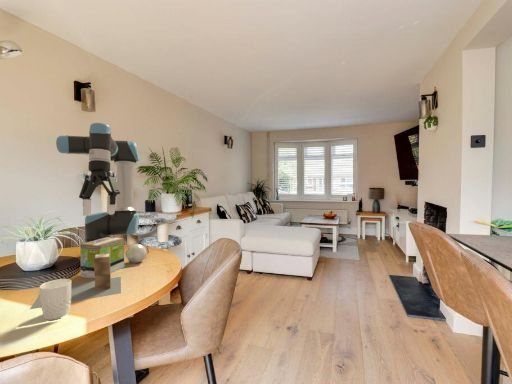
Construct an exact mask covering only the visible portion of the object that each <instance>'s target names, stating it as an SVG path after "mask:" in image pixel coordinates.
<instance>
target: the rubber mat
mask: <svg viewBox="0 0 512 384" xmlns="http://www.w3.org/2000/svg"><path fill="white" fill-rule="evenodd" d="M118 294H122V276H116V277H111V288H110V289H104V290H98V291H95V280H90V281H85V282H78V283H71V303H73V302H78V301H83V300H89V299H90V300H91V299H95V298H100V297H101V298H102V297H106V296H112V295H118ZM39 308H42V306H41V298H40V294H39V295H38V296H37V298H36V299H35V300H34V302H33V304H31V306H30V308H29V310H34V309H39Z"/></svg>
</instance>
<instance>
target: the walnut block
mask: <svg viewBox="0 0 512 384" xmlns="http://www.w3.org/2000/svg"><path fill="white" fill-rule="evenodd" d="M94 274H95V278H94V281H95V291H98V290H104V289H110V288H111V278H112V276H111V275H112V273H111V274H110V254H109V253H108V254H99V255H96V256H95V257H94Z"/></svg>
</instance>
